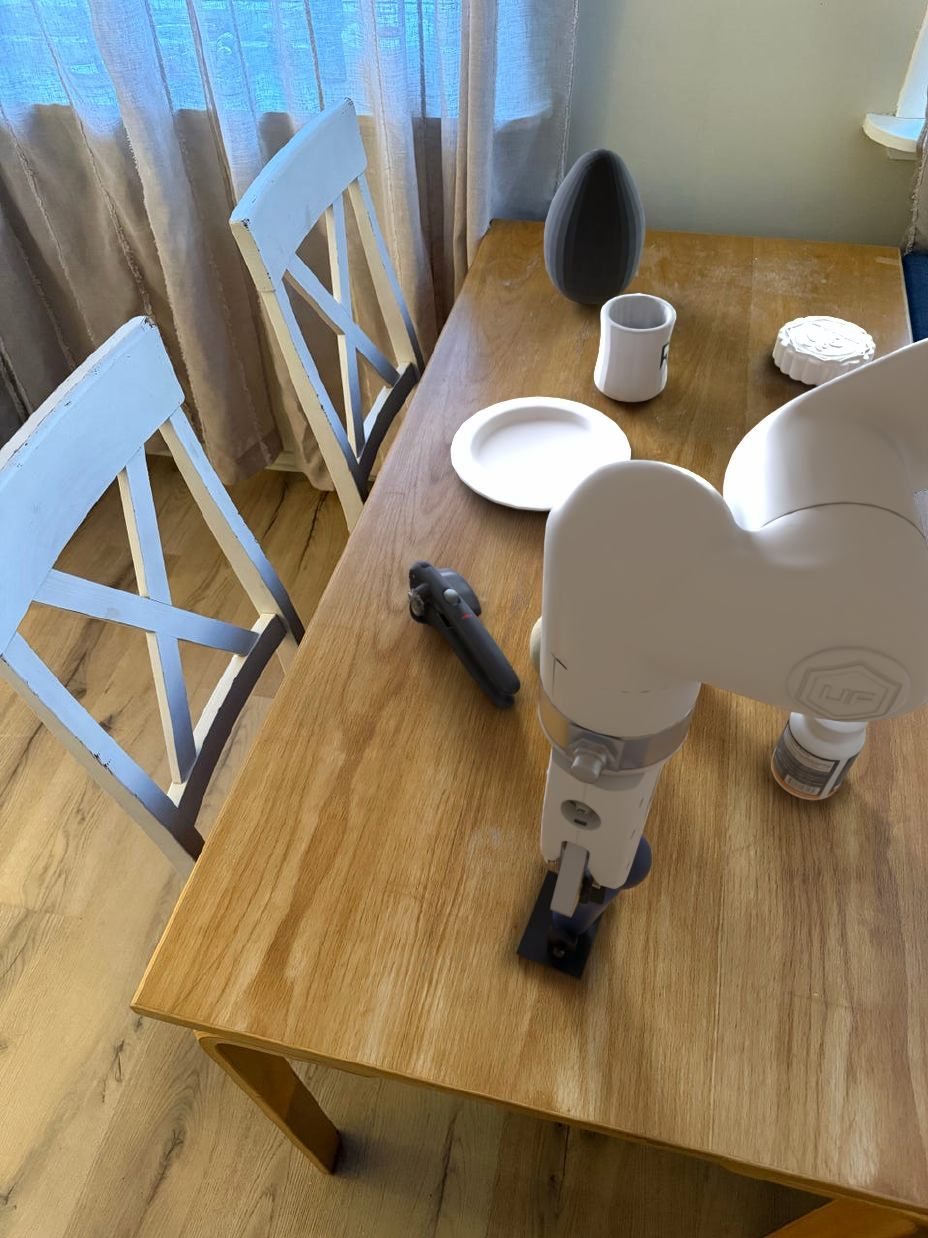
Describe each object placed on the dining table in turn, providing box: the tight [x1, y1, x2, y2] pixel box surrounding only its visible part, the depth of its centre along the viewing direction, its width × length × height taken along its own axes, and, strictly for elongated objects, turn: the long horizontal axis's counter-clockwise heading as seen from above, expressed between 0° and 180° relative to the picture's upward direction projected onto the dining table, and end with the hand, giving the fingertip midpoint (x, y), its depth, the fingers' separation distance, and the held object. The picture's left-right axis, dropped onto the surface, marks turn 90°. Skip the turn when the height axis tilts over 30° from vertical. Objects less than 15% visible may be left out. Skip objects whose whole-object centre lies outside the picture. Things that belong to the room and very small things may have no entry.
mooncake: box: [772, 315, 876, 387], centre depth 111 cm, size 12×12×4 cm
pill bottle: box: [770, 711, 869, 801], centre depth 69 cm, size 6×6×10 cm
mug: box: [593, 292, 677, 403], centre depth 108 cm, size 12×9×10 cm
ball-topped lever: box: [553, 833, 653, 935], centre depth 59 cm, size 15×4×4 cm
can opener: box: [406, 559, 521, 710], centre depth 81 cm, size 18×7×6 cm, turn 28°
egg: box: [543, 148, 646, 305], centre depth 117 cm, size 14×14×20 cm
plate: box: [450, 396, 632, 513], centre depth 100 cm, size 21×21×2 cm
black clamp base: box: [515, 869, 605, 981], centre depth 64 cm, size 5×7×4 cm
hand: (591, 858), depth 56 cm, fingers closed on ball-topped lever, 4 cm apart
